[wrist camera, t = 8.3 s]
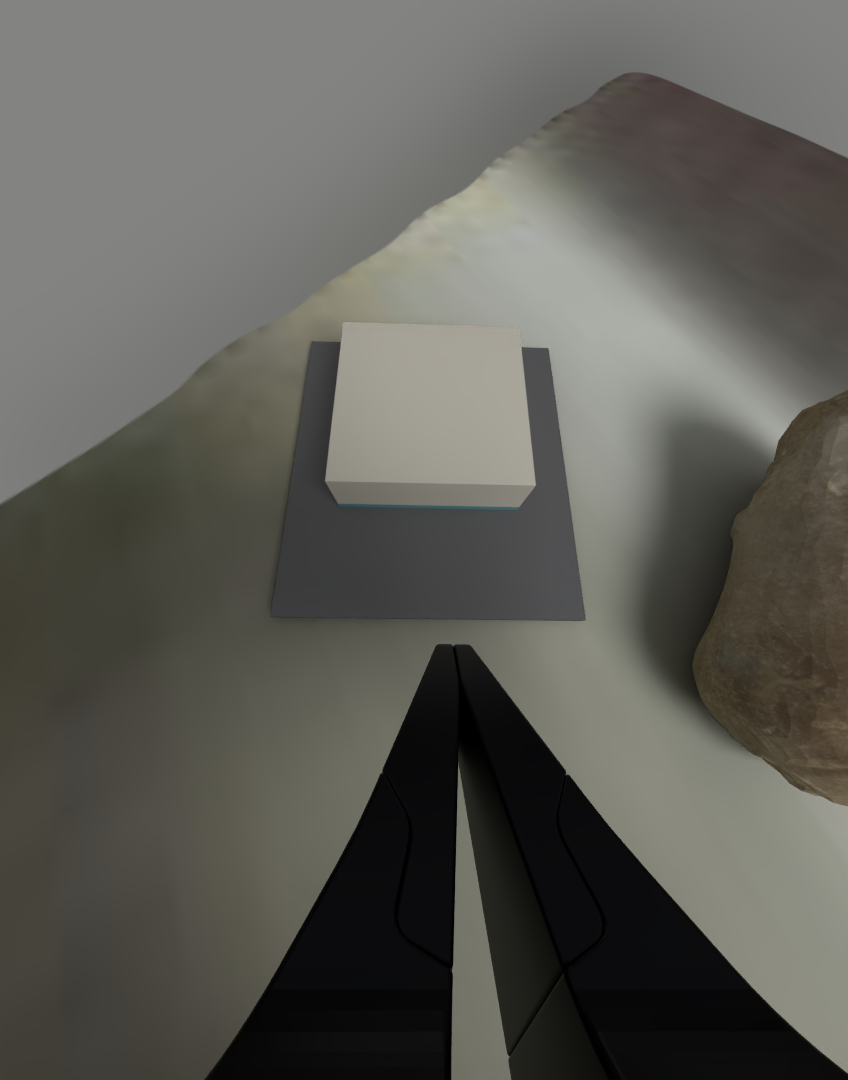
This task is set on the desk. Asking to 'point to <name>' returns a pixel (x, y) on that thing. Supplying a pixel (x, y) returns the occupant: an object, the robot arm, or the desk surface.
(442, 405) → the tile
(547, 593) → the mat
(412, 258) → the desk surface
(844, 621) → the sculpture
